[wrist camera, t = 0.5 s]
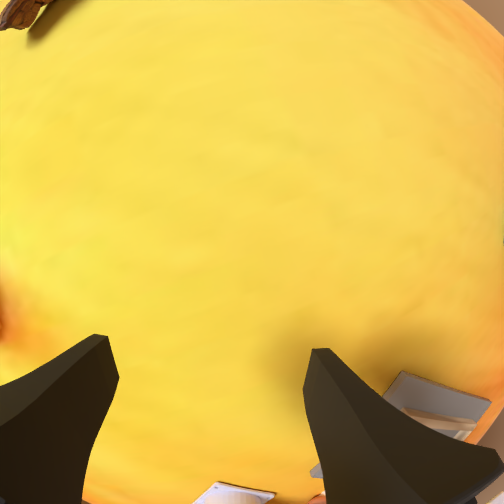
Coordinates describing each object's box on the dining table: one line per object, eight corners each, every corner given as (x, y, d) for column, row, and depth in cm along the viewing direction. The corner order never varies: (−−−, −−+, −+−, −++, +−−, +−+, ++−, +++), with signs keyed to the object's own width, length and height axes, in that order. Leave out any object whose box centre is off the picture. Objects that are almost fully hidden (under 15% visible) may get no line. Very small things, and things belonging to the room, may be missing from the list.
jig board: (422, 472, 26) (428, 482, 23) (309, 471, 23) (313, 486, 21) (488, 399, 24) (497, 407, 21) (401, 370, 21) (414, 384, 19)
